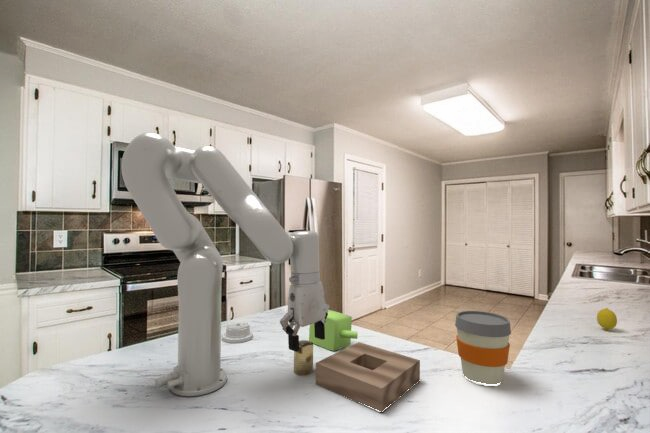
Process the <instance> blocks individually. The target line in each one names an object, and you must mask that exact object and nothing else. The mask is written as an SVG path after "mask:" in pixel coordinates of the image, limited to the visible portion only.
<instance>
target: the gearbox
mask: <svg viewBox="0 0 650 433" xmlns="http://www.w3.org/2000/svg"><path fill="white" fill-rule="evenodd" d="M327 313H328V316H327V318H326V323H325V324H324V325H325V339H324V340H322V339H318V338H315V329H314V323H313V324H310V325H309V334H308V341H311V342H313V345H317V346H319V347H321V348H323V349H327V350H329V351H331V352H332V351H338V350H340V349H344V348H346V347H348V346H350V345H351V340H352V339H353V340H354V339H355V340H357V339H358V335H359V332H358V331H356V330H355V331H354V330H352V322H353V320H352V319H353V317H352V316H351V315H348V314H345V313H342V312H338V311H334V310H330V309H329V310H328V312H327ZM316 323H317V322H316ZM349 344H350V345H349ZM347 345H348V346H347ZM345 346H346V347H345Z"/></svg>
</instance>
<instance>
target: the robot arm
mask: <svg viewBox="0 0 650 433" xmlns="http://www.w3.org/2000/svg"><path fill="white" fill-rule="evenodd" d="M121 175H122V179H123V182H124V184H125V187H126V189H127V191H128V193H129V194H130V196H131V198H132V199H133V201H134V202H135V204H136V205H137V206H136V207H137V208H138V209H139V211H140V213H141V215H142V217H143V218H144V219H145V221H146V223H147V224H148V226H149V228H150V229H151V230H152V232H153V235H154V236H155V238H156V240H157V242H158V243H159V244H160V246H162V247H163V248H165V249H167V250H168V251H172V252H173V254H175V256H176V258H177V259H178V261H179V262H180V263H179V266H178V269H177V278H176V281H177V295H178V296H177V297H178V317H177V318H178V325H177V326H178V329H177V330H178V332H177V334H178V336H177V337H178V339H177V340H178V341H177V365H176V366H173V370H172V372H170V373H169V375H168V374H167V375H164V376H161V377H159V378H158V377H157V378H156V379H155V380H154V382H155V387H156V389H159V388H163V387H164V386H166V387H165V388H166V389H170V390H171V392H172V393H174V394H175V395H177V396H182V397H196V396H197V397H198V396H202V395H203V396H204V395H207V394H209V393H210V394H211V393H212V392H215V391H217V390H219V389H220V388H222V387H223V386H224V385H225V383H227V380H228V373H227V371H226V370H225V369H223V368H221V363H222V362H221V360H222V358H221V356H222V355H221V350H222V347H221V346H222V281H223V280H222V278H223V270H224V267H223V266H224V261H223V258H222V256H221V254H220V252H219V250H218V248H217V247H216V245H215V244H214V242H213V240H212V239H211V238H210V236H209V234H208V232H207V231H206V230H205V227H204V226H203V224H202V223H201V222H200V220H199V219H198V218H197V216H195V215H194V214H192V213H189V211H187V209H186V207H185V206H184V205H183V203H182V201H181V200H180V198H179V196H178V195H177V193H176V191H175V189H174V188H173V187H172V185H171V184H170V181H169V180H168V179H173V180H178V181H184V182H188V183H189V182H190V183H194V184H195V183H196V184H201V185H202V186H203V187H204V188H205V190H206V191H207V192H208V193H209V195H211V197H212V198H213V200H214V201H215V203H216V204H217V205H219V207H221V209H222V210H223V211H224V213H225V214H226V215H227V216H228V218H230V220H232V221H233V223H235V224H236V225H237V226H238V227H239V228H240V230H242V231H243V233H245V235H246V236H247V237H248V239H250V241H251V242H252V243H253V245H254V247H256V249H258V251H259V252H260V254H261V255H262V256H263V257H264V258H265V260H267V261H268V262H270V263H271V264H276V265H277V264H279V265H280V264H282V263H286V262H287V261H290V266H289V267H290V276H289V278H288V280H289V282H290V285H289V288H288V297H287V298H288V300H287V312H286V313H285V315H283V316H282V318H280V320H279V324H280V326H281V327H282V330H283V332H285V334H286V335H287V338H288V339H287V341H288V342H287V344H288V350H290V351H293V352H294V351H295V352H298V351H299V341H300V337H299V334H298V333H299V330H300V328H303V327H308V326H310V324H313V323H314V329H315V338H318V339H322V340H324V339H325V325H324V324H325V323H326V318H327V316H328V313H327V312H328V310H330V305H329V304H328V303H326V300H325V299H326V297H325V291H324V287H323V283H322V282H323V281H321V274H320V246H319V245H320V244H319V234H318V232H316V231H314V230H297V231H293V232H287V231H286V230H285V229H284V227H282V225H281V223H279V221H278V220H277V219H276V218H275V217H274V215H273V214H272V213H271V212H270V210H269V209H268V208H267V207H266V206H265V204H264V203H263V202H262V200H260V198H259V197H258V195H257V194H256V193H255V192H254V190H253V189H252V188H251V187H250V186H249V185H248V184H247V182H246V180H244V178H243V177H242V176H241V174H240V173H239V172H238V171H237V169H236V168H235V167H234V165H232V163H231V161H229V159H228V158H227V157H226V156H225V155H224V154H223V152H222V151H221V150H219V149H218V148H216V147H215V146H211V145H204V146H201V147H198V148H197V149H195V150H192V149H188V148H185V147H184V148H182V147H178V146H175V145H174V144H173V142H171V141H170V139H169V138H167V137H165V136H164V135H161V134H160V133H156V132H143V133H141V134H139V135H137V136H136V137H134V138H133V139H132V140H131V141H130V142H129V143H128V145H127V146H126V148H125V150H124V152H123V155H122V158H121ZM316 322H317V323H316Z"/></svg>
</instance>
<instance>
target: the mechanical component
mask: <svg viewBox="0 0 650 433" xmlns="http://www.w3.org/2000/svg"><path fill="white" fill-rule="evenodd" d="M225 330H226V331H225V332H224V333H222V334H221V341H223V342H225V343H229V344H240V343H245V342H248V341H251V340H252V339H253V338H254V332H253V331H252V330H251V328H250V324H249V323H248V322H247V323H246V322H244V321H243V322H242V321H240V322H239V321H238V322H232V323H230V324H227V325H226V328H225Z"/></svg>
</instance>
